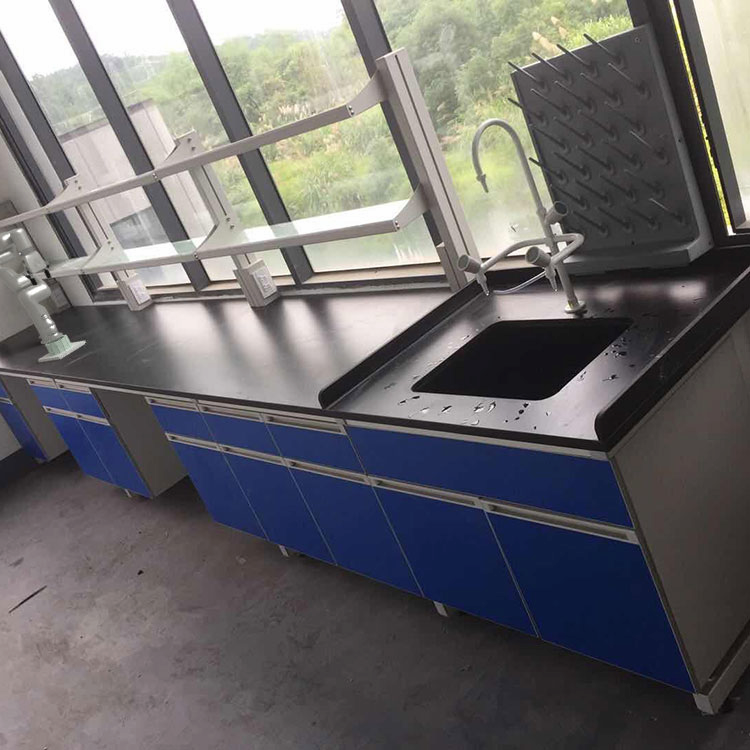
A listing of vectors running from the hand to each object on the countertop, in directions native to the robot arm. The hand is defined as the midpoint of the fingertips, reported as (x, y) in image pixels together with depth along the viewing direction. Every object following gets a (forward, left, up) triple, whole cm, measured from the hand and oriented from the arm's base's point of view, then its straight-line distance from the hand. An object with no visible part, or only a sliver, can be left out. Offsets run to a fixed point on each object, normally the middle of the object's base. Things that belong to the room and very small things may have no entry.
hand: (42, 281), depth 427 cm
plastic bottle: (+16, -20, -33) cm, 42 cm away
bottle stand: (+16, -20, -34) cm, 43 cm away
